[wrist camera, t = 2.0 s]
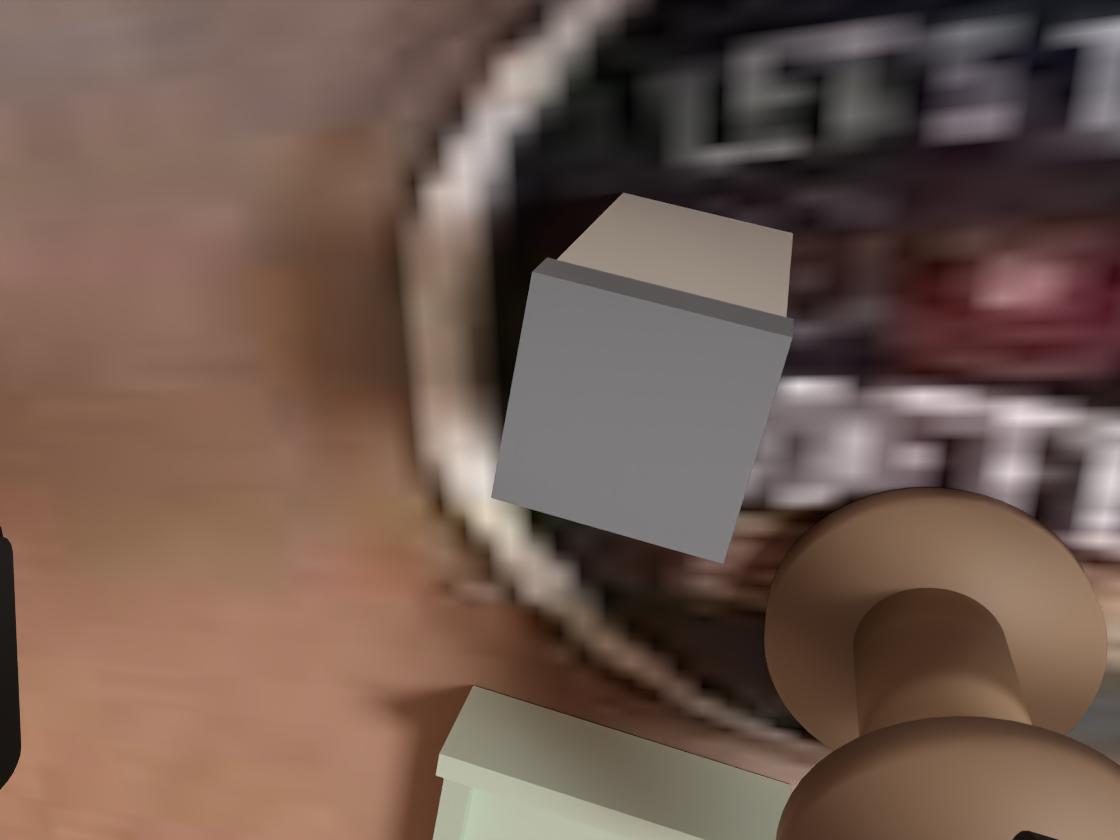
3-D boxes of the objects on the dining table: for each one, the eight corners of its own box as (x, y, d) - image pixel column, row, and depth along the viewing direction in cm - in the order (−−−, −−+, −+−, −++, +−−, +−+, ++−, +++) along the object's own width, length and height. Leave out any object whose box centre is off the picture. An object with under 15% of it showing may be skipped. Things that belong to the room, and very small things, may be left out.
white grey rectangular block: (619, 187, 23) (532, 271, 16) (798, 229, 23) (792, 337, 15) (584, 353, 25) (491, 497, 18) (749, 396, 24) (723, 564, 17)
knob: (815, 450, 24) (818, 670, 16) (1153, 540, 23) (1334, 823, 15) (732, 701, 28) (699, 988, 20) (1024, 790, 27) (1116, 1132, 19)
